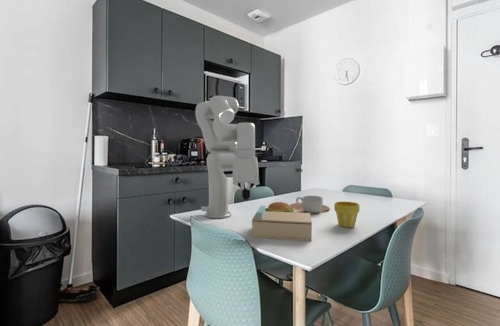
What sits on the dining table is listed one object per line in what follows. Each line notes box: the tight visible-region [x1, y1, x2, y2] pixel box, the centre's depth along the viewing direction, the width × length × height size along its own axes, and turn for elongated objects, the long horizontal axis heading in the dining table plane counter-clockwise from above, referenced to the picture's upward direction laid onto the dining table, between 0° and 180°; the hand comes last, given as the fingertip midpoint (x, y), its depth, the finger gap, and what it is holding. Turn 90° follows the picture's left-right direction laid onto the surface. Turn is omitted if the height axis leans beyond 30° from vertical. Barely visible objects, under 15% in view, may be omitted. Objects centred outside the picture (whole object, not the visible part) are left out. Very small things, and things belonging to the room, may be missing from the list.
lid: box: [251, 205, 313, 224], centre depth 107 cm, size 22×14×3 cm, turn 80°
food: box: [266, 201, 295, 212], centre depth 129 cm, size 14×14×8 cm
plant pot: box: [333, 201, 360, 229], centre depth 118 cm, size 10×10×10 cm
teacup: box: [295, 195, 324, 214], centre depth 144 cm, size 14×11×8 cm
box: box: [251, 220, 313, 242], centre depth 107 cm, size 22×14×6 cm, turn 80°
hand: (246, 199), depth 109 cm, fingers closed
